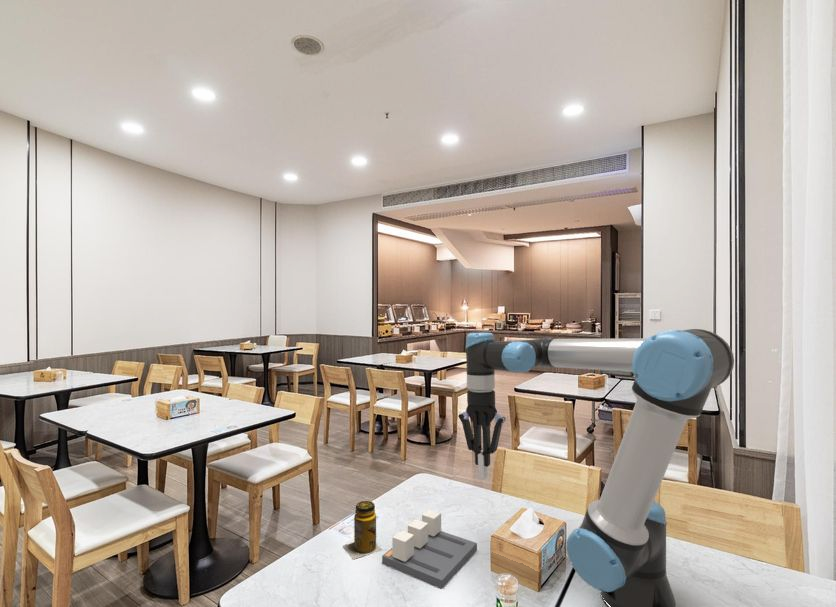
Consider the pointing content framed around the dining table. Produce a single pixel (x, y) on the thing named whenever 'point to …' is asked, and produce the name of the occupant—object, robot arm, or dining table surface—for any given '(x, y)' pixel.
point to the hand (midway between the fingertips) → (483, 477)
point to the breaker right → (432, 521)
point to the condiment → (363, 531)
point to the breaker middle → (419, 532)
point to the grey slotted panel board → (435, 559)
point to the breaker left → (403, 545)
